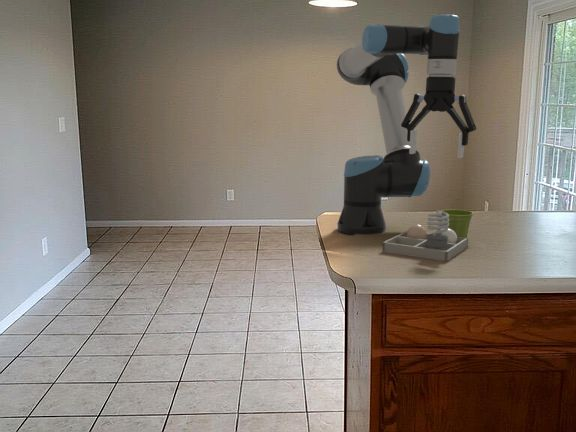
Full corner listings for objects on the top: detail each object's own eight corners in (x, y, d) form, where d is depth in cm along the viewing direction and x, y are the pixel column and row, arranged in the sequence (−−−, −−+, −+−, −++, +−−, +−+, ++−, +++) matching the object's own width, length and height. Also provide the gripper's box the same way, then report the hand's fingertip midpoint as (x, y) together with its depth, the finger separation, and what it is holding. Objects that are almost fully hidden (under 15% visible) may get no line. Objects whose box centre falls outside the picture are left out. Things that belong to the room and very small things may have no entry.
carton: (382, 253, 162) (382, 242, 161) (407, 240, 176) (407, 230, 176) (446, 263, 152) (447, 251, 152) (467, 249, 167) (468, 238, 166)
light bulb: (443, 258, 154) (446, 213, 152) (422, 255, 157) (424, 210, 155) (450, 254, 159) (452, 209, 157) (429, 251, 162) (431, 207, 160)
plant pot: (433, 241, 176) (434, 212, 174) (447, 235, 183) (448, 207, 181) (463, 246, 170) (465, 216, 168) (476, 240, 177) (478, 211, 175)
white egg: (432, 248, 165) (433, 228, 164) (439, 244, 169) (440, 225, 168) (452, 251, 162) (454, 231, 161) (459, 247, 166) (460, 227, 165)
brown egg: (403, 244, 169) (404, 225, 168) (410, 240, 174) (411, 221, 173) (422, 247, 166) (423, 227, 165) (429, 243, 171) (430, 224, 170)
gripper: (391, 75, 163) (388, 153, 168) (484, 76, 149) (477, 160, 154) (403, 75, 169) (399, 150, 174) (492, 76, 155) (485, 157, 160)
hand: (435, 155), depth 164 cm, fingers open, 13 cm apart
